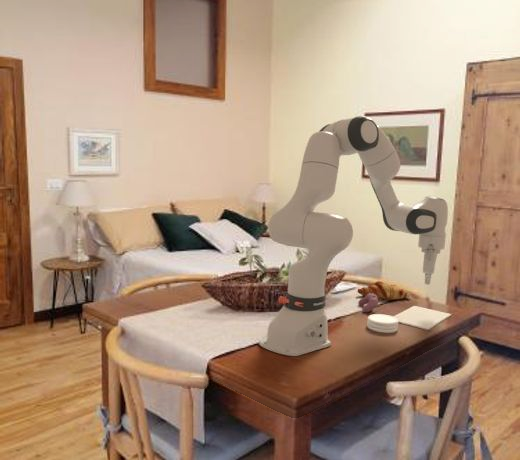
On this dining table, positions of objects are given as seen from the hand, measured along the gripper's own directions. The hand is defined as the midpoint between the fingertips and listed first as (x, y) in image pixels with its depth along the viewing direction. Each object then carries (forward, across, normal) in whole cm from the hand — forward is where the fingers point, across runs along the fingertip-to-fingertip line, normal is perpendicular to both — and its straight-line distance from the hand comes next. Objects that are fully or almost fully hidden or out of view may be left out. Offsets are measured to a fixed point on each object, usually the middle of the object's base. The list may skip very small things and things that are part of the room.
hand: (427, 281), depth 182 cm
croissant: (+13, +18, +16) cm, 28 cm away
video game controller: (+13, -1, +20) cm, 24 cm away
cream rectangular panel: (+13, -3, +1) cm, 13 cm away
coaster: (+14, -20, +12) cm, 27 cm away
